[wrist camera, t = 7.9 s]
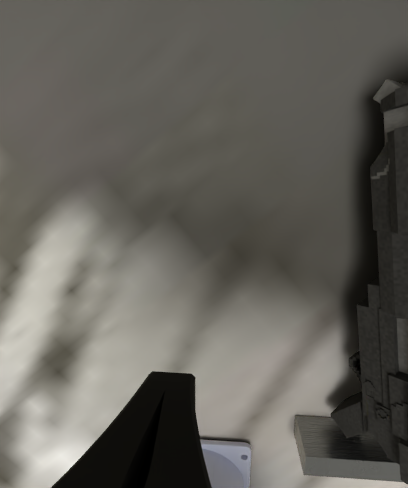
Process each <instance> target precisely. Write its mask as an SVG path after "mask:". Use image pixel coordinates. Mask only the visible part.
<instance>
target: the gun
mask: <svg viewBox="0 0 408 488" xmlns="http://www.w3.org/2000/svg"><path fill="white" fill-rule="evenodd" d="M373 99H374V100H376V101H377V102H379V103H380V106H381V113H384V131H385V145H384V148H382V151H381V154H379V157H377V159H376V160H375V162H373V165H370V173H371V193H372V212H373V230H377V243H378V263H379V278H377V279H375V280H374V281H372V282H370V283H369V284H368V298H366V299H365V300H363V301H362V302H360V303H359V304H357V319H358V335H359V351H358V352H356V353H355V354H354V355H353V356H352V357H350V358H349V363H350V367H352V368H353V370H355V373H357V377H359V380H360V381H361V384H362V392H361V393H359V394H356V395H353V396H352V397H350V398H347V399H346V400H345V401H343V402H342V403H341V404H340V405H339V406H338V407H337V408H336V409H335V410H334V411H333V412H332V413H331V417H333V419H334V421H335V422H336V424H338V426H339V428H340V429H341V431H343V433H344V435H345V436H346V438H350V437H353V436H356V435H360V434H363V433H364V432H365V433H366V432H368V433H370V434H371V433H372V435H373V436H374V438H376V440H377V441H378V443H379V444H380V446H382V447H383V451H385V453H386V454H387V458H389V459H390V460H392V461H394V462H396V463H397V464H399V465H400V476H401V480H402V481H403V482H405V483H406V484H408V83H404V82H401V83H398V82H397V81H394V80H389V79H386V81H385V82H384V83H383V85H382V86H381V88H380V89H379V91H378V92H377V93H376V95H375V96H374V98H373Z"/></svg>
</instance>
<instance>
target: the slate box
mask: <svg viewBox="0 0 408 488" xmlns="http://www.w3.org/2000/svg"><path fill="white" fill-rule="evenodd" d="M294 435H295V439H296V444H297V448H298V452H299V456H300V461H301V465H302V469H303V474H304V475H313V476H327V477H341V478H355V479H369V480H382V481H396V482H403V481H402V480H401V476H400V465H399V464H397V463H396V462H394V461H392V460H390V459H389V458H387V454H386V453H385V451H383V447H382V446H380V444H379V443H378V441H377V440H376V438H374V436H373V435H372V433H371V434H370V433H368V432H366V433H365V432H364V433H363V434H360V435H356V436H353V437H350V438H346V436H345V435H344V433H343V431H341V429H340V428H339V426H338V424H336V422H335V421H334V419H333V418H331V417H314V416H297V415H295V425H294Z"/></svg>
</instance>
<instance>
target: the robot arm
mask: <svg viewBox="0 0 408 488" xmlns="http://www.w3.org/2000/svg"><path fill="white" fill-rule="evenodd" d="M250 469H251V446H250V445H249V444H248V443H245V442H231V441H216V440H201V439H200V436H199V431H198V425H197V420H196V412H195V377H194V376H193V375H192V374H186V373H170V372H153V371H152V372H151V373H150V374H149V375H148V377H147V378H146V379H145V381H144V382H143V384H142V385H141V386H140V388H139V389H138V390H137V392H136V393H135V394H134V396H133V397H132V398H131V400H130V401H129V402H128V403H127V405H126V406H125V407H124V408H123V410H122V411H121V412H120V413H119V415H118V416H117V417H116V418H115V419H114V421H113V422H112V423H111V424H110V425H109V427H108V428H107V429H106V430H105V431H104V432H103V434H102V435H101V436H100V437H99V438H98V439H97V440H96V441H95V442H94V444H93V445H92V446H91V447H90V448H89V449H88V450H87V451H86V452H85V454H84V455H83V456H82V457H81V458H80V459H79V460H78V461H77V462H76V463H75V464H74V465H73V466H72V467H71V468H70V469H69V470H68V471H67V472H66V473H65V474H64V475H63V476H62V477H61V478H60V479H59V480H58V481H57V482H56V483H55V484H54V485H53V486H52V487H51V488H250Z"/></svg>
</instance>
